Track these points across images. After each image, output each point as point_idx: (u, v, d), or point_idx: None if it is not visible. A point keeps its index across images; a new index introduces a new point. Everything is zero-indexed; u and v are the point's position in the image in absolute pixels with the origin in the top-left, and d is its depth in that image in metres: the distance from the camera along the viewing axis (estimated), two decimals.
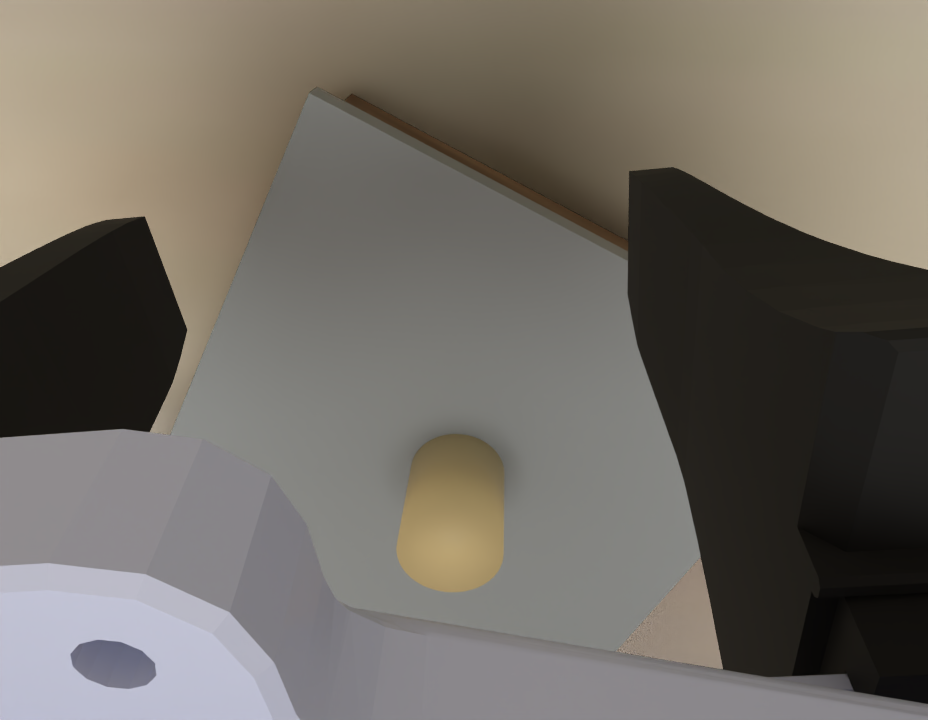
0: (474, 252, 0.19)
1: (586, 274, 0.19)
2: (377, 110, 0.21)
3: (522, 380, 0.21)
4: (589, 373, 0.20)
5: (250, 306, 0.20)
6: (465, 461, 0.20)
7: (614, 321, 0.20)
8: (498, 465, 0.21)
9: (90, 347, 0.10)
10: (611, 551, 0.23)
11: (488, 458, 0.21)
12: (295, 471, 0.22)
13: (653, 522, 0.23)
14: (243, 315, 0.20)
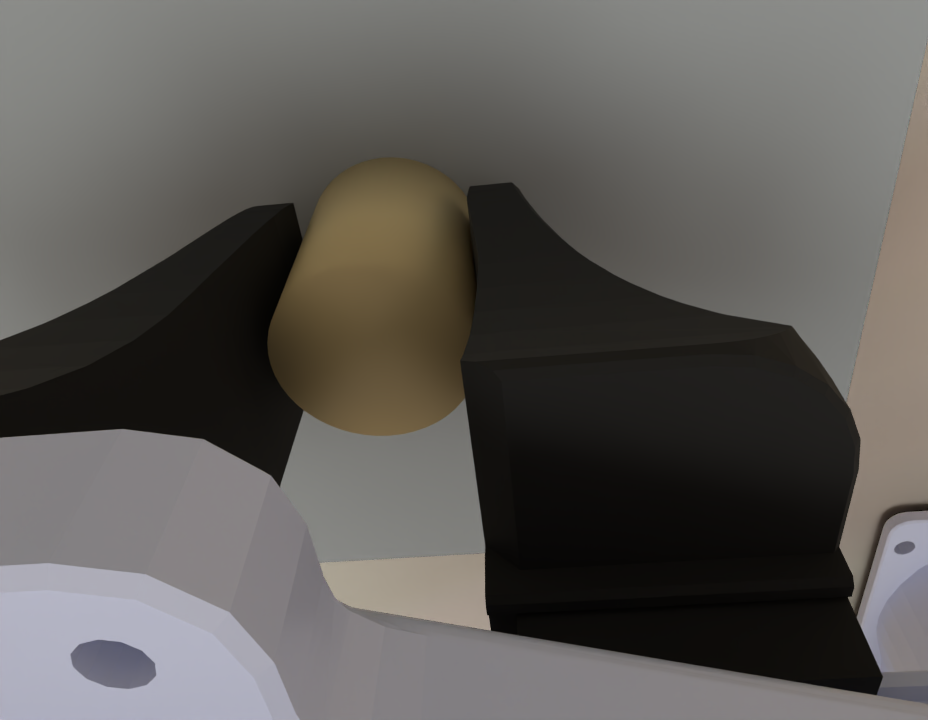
0: None
1: None
2: None
3: (364, 0, 0.10)
4: None
5: None
6: (349, 197, 0.11)
7: None
8: (430, 179, 0.11)
9: (260, 333, 0.10)
10: (733, 224, 0.12)
11: (401, 175, 0.11)
12: None
13: (774, 126, 0.11)
14: None
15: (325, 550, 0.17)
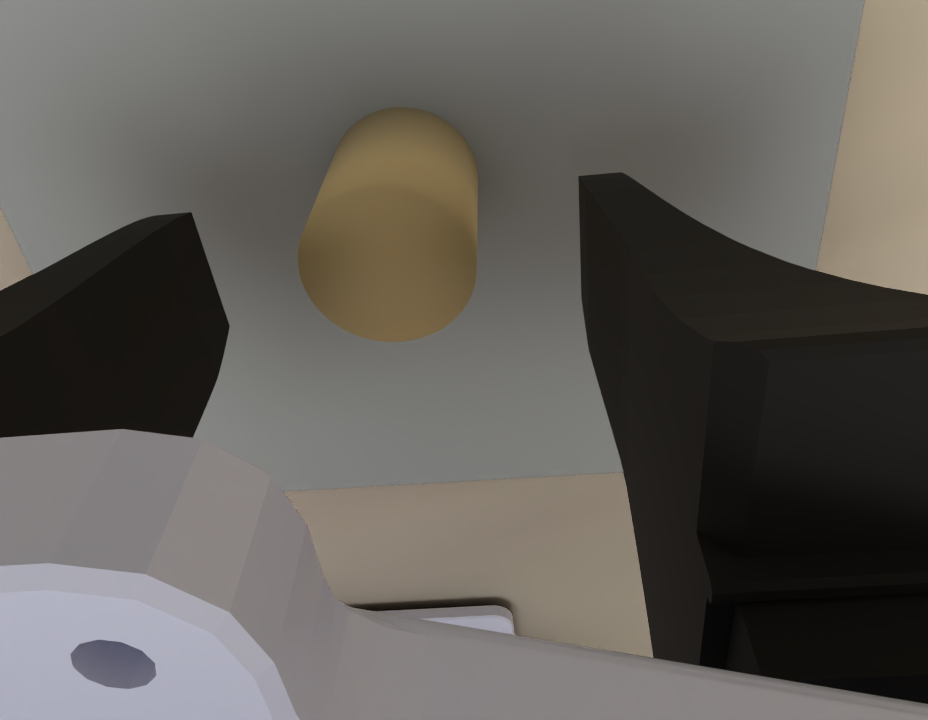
0: None
1: None
2: None
3: None
4: None
5: None
6: (366, 137, 0.12)
7: None
8: (435, 125, 0.13)
9: (144, 342, 0.10)
10: (700, 170, 0.14)
11: (410, 121, 0.13)
12: (221, 301, 0.16)
13: (734, 81, 0.13)
14: None
15: (336, 476, 0.18)
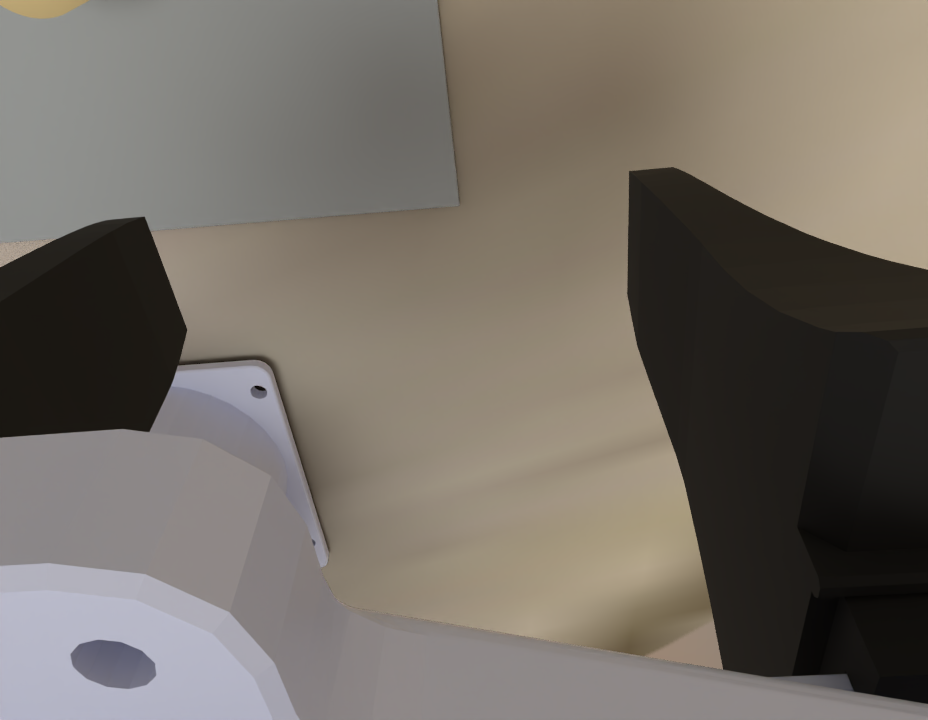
0: None
1: None
2: None
3: None
4: None
5: None
6: None
7: None
8: None
9: (90, 347, 0.10)
10: None
11: None
12: None
13: None
14: None
15: (93, 223, 0.22)
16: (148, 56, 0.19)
